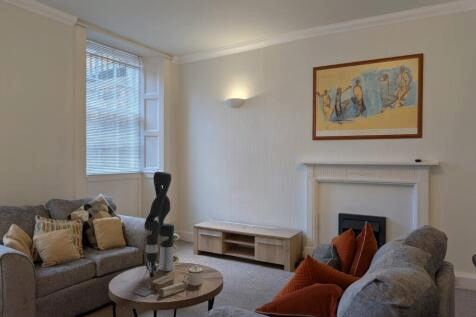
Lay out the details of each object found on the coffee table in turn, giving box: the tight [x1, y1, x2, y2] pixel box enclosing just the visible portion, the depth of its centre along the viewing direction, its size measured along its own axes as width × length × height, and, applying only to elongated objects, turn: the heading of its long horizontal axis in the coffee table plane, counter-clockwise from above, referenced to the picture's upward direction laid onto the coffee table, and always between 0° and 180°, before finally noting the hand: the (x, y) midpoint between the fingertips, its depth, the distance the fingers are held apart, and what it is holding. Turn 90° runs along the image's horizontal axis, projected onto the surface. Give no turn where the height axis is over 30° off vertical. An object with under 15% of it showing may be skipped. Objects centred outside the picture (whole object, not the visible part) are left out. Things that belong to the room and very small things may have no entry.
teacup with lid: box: [183, 264, 204, 287], centre depth 218 cm, size 12×9×12 cm
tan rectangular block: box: [149, 275, 175, 293], centre depth 210 cm, size 8×12×5 cm, turn 146°
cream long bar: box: [158, 280, 187, 298], centre depth 203 cm, size 3×18×5 cm, turn 139°
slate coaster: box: [133, 287, 156, 298], centre depth 202 cm, size 9×9×1 cm
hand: (151, 277), depth 218 cm, fingers closed
